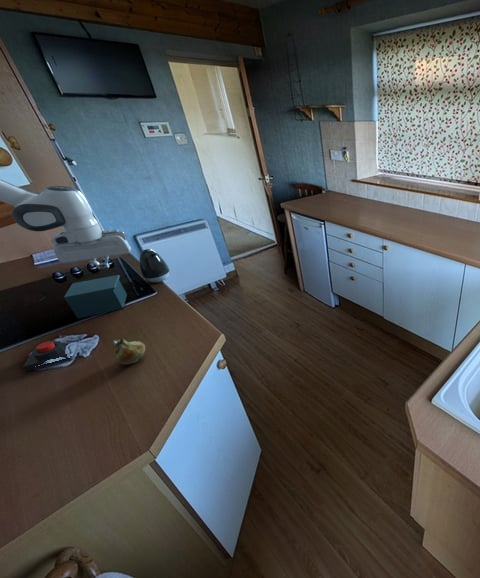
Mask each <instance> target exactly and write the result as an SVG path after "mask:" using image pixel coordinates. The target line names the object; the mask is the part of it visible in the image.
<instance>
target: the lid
mask: <svg viewBox="0 0 480 578" xmlns="http://www.w3.org/2000/svg"><path fill="white" fill-rule="evenodd" d="M120 277H121V275H120V274H116V275H110V276H104V277H100V278H94V279H89V280H83V281H77V282H73V283H71V285H70V287H69V288H68V290H67V291H66V293H65V295H64V296H63V298H64V300H65V299H68V298H73V297H78V296H83V295H88V294H93V293H98V292H103V291H108V290H113V289H116V286H117V283H118V280H119V281H120Z"/></svg>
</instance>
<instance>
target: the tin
mask: <svg viewBox="0 0 480 578" xmlns="http://www.w3.org/2000/svg"><path fill="white" fill-rule="evenodd" d="M127 296H128V293H127V292H126V290H125V288H124V286H123V283H122V282H121V281H120V279H119V280H118V283H117V286H116V289H113V290H108V291H103V292H98V293H93V294H88V295H83V296H78V297H73V298H68V299H65V298H64V301H65V302H66V303H67V305H68V306H69V308H70V309H71V310H72V312H73V313H74V315H75V316H76V318H77V319H78V320H79V319H84V318H88V317H92V316H96V315H100V314H106V313H109V312H114V311H118V310H123V309H124V307H125V305H126V304H125V303H126V300H127V298H128V297H127Z"/></svg>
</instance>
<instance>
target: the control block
mask: <svg viewBox="0 0 480 578" xmlns="http://www.w3.org/2000/svg"><path fill="white" fill-rule="evenodd" d="M74 340H75V339H73V341H74ZM71 341H72V340H70V341H65V342H66V343H67V342H71ZM52 342H53V343H54V344H55V346H56V347H55V348H53V349H52V350H50V351H48V352H44V353H40V352H39V351H38V350H37V349H36V348H34V349H33V350H32V352H30V355H29V356H28V358H27V359H26V361H25V362H24V364H23V365H22V366H23V367H22V368H23V369H24V370H25V371H26V372H32V371H36V370H39V369H43V368H46V367H50V366H54V365H58V364H61V363H66V362H68V361H72V360H73V358H74V356H75V354H74V355H73V356H70V358H66V359H62V360H59V361H55V362H52V363H47V364H44V365H41V364H43V363H44V362H45V361H47V360H50V359H56V358H59V357H66V356H67V354H65V352H64V349H65V347H66V344H65V343H64V342H62V341H60V340H53V341H52ZM38 365H40V366H38ZM35 366H36V367H35Z"/></svg>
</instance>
